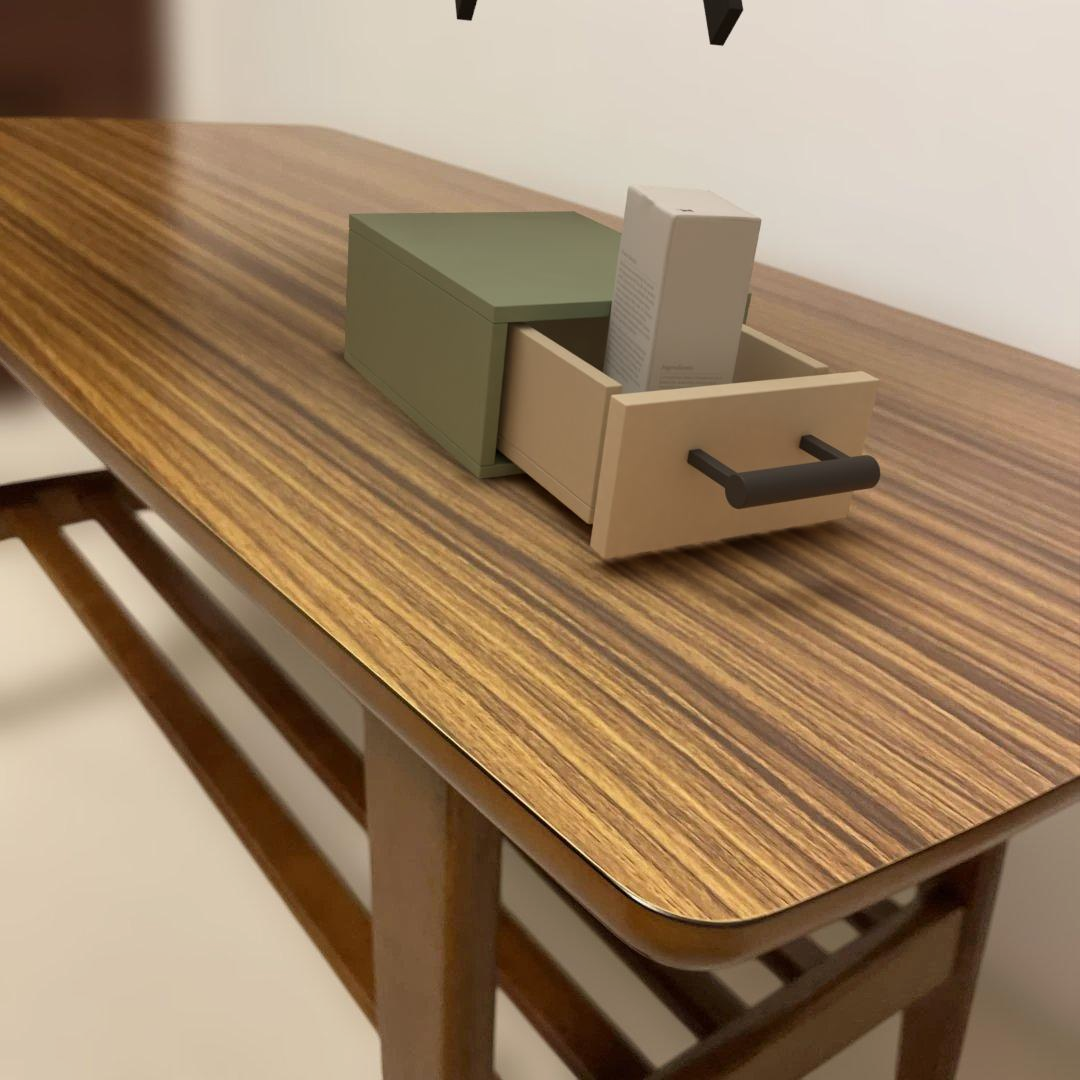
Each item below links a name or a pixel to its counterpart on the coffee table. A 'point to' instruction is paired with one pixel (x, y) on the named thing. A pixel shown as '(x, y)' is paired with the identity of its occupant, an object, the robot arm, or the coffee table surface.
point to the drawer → (683, 439)
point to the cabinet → (465, 309)
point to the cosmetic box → (679, 289)
